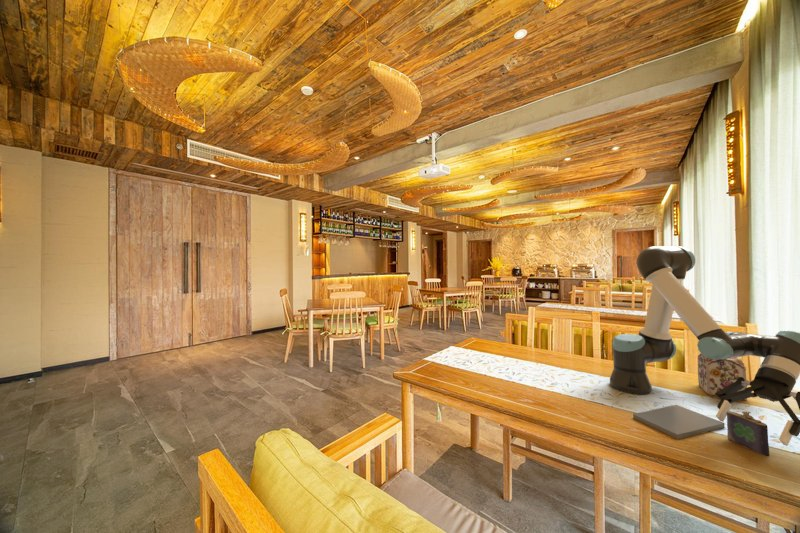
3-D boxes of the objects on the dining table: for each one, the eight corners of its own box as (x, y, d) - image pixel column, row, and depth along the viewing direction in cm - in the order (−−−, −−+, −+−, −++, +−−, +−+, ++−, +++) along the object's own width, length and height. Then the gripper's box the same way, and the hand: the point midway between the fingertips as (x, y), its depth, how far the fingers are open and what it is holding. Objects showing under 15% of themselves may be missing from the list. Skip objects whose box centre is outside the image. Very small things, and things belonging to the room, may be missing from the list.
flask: (725, 438, 93) (724, 405, 93) (732, 437, 94) (731, 404, 94) (765, 457, 84) (763, 420, 84) (773, 455, 85) (771, 419, 85)
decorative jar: (748, 400, 117) (746, 356, 117) (707, 394, 123) (705, 352, 123) (735, 389, 127) (733, 348, 127) (697, 384, 133) (696, 345, 133)
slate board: (633, 418, 107) (633, 414, 107) (676, 408, 113) (676, 404, 113) (677, 439, 94) (677, 434, 94) (724, 427, 99) (724, 422, 99)
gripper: (851, 397, 81) (822, 462, 77) (730, 368, 105) (703, 417, 101) (839, 381, 80) (809, 446, 76) (719, 355, 104) (691, 404, 100)
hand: (748, 430), depth 88 cm, fingers open, 13 cm apart
